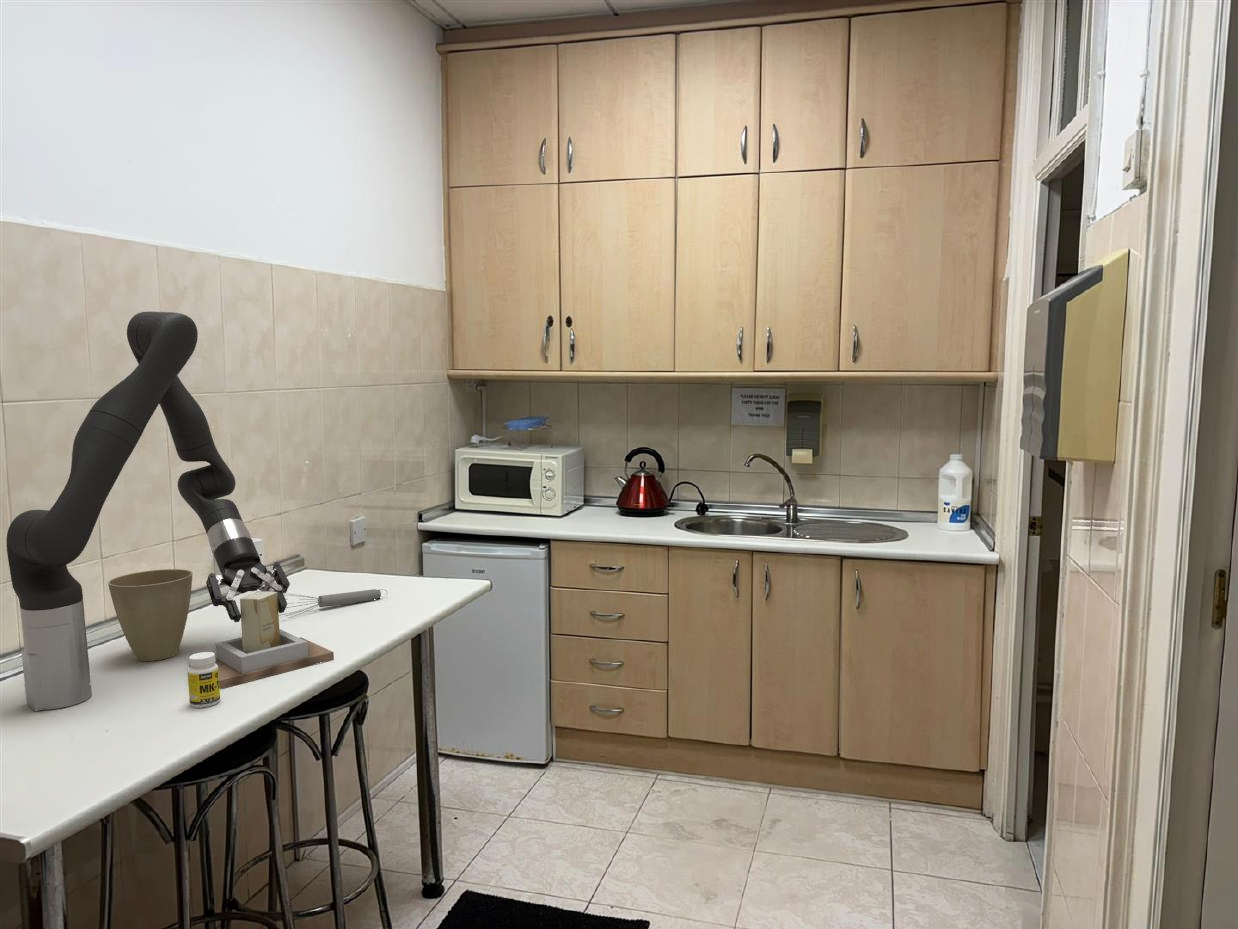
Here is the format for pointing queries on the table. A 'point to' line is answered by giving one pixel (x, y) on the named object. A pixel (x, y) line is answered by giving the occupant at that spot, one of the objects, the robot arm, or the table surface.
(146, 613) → the plant pot
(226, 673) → the board
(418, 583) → the table surface
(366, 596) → the kitchen whisk
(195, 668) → the supplement bottle
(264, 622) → the skincare box
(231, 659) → the collar
